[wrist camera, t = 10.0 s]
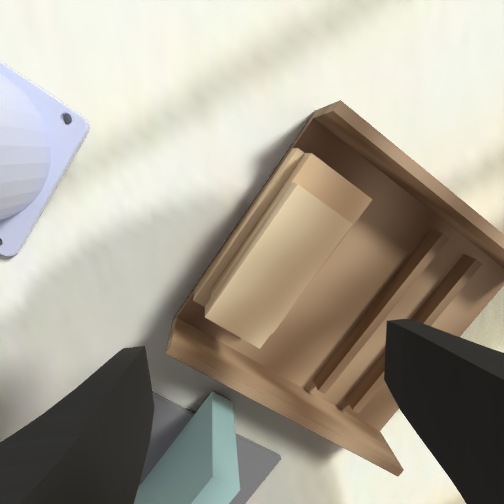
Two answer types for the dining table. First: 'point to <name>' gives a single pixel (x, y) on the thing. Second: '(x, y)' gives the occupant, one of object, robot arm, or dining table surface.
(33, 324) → the dining table surface
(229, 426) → the teal rectangular block
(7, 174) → the robot arm
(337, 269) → the rack
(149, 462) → the mat
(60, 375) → the dining table surface
